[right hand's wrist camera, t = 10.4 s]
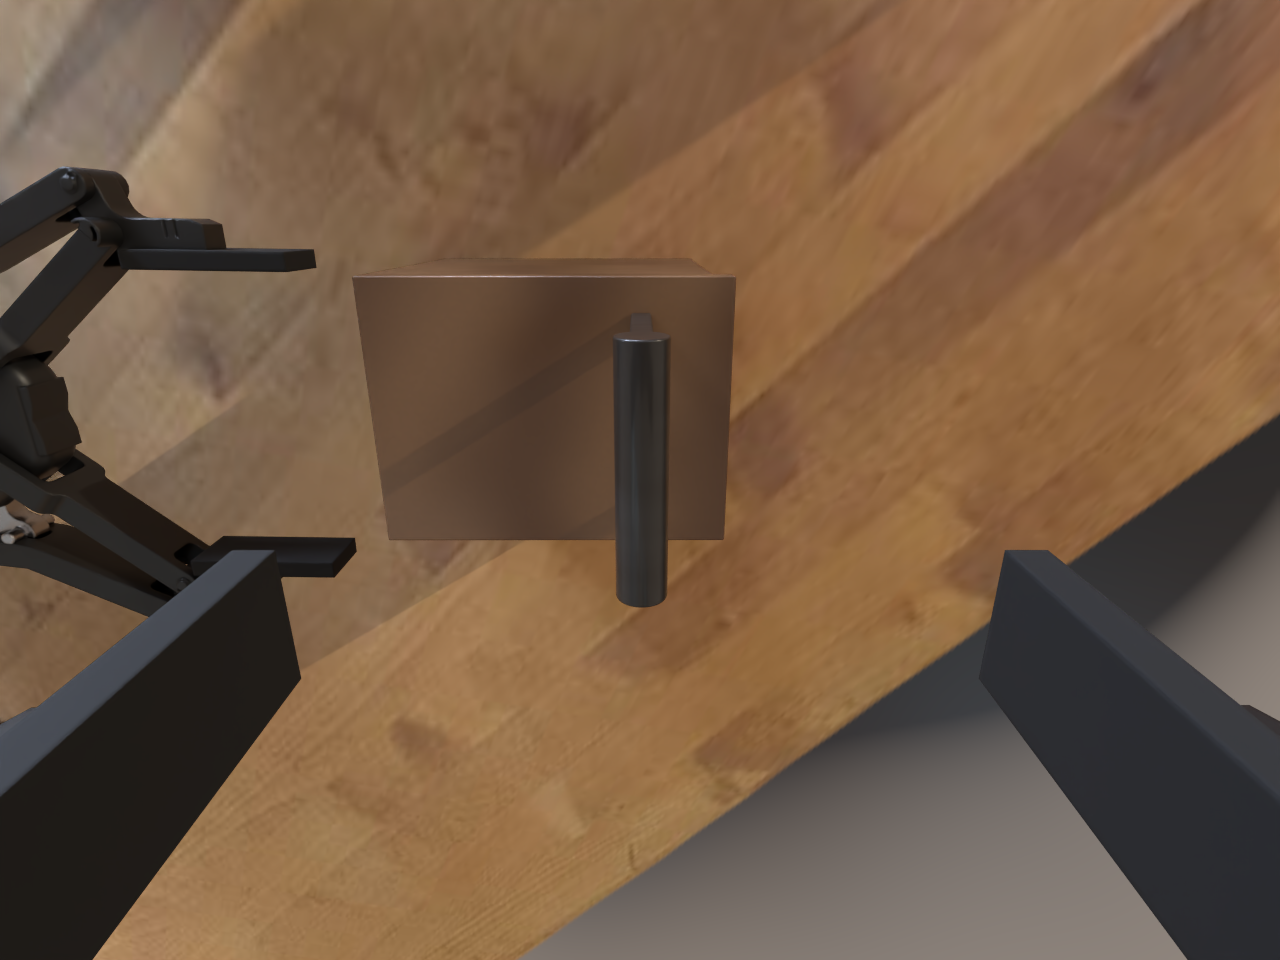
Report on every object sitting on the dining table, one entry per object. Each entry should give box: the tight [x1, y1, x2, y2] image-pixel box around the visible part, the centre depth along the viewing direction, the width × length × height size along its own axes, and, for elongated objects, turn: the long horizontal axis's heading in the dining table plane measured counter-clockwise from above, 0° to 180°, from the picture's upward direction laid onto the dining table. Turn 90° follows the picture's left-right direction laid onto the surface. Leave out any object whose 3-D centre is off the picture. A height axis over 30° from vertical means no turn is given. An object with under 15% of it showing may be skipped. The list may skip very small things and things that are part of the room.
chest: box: [367, 259, 711, 274], centre depth 31 cm, size 12×10×11 cm
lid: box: [352, 274, 736, 607], centre depth 23 cm, size 13×10×8 cm
